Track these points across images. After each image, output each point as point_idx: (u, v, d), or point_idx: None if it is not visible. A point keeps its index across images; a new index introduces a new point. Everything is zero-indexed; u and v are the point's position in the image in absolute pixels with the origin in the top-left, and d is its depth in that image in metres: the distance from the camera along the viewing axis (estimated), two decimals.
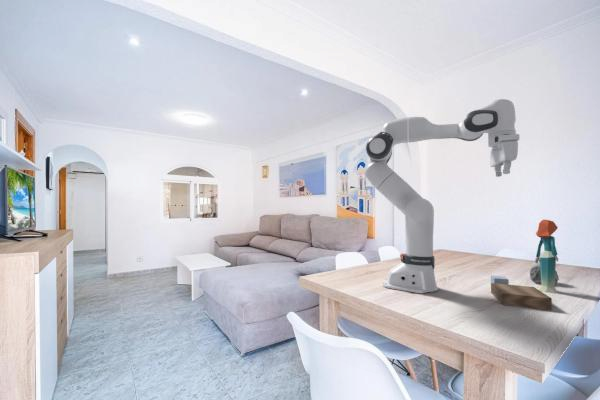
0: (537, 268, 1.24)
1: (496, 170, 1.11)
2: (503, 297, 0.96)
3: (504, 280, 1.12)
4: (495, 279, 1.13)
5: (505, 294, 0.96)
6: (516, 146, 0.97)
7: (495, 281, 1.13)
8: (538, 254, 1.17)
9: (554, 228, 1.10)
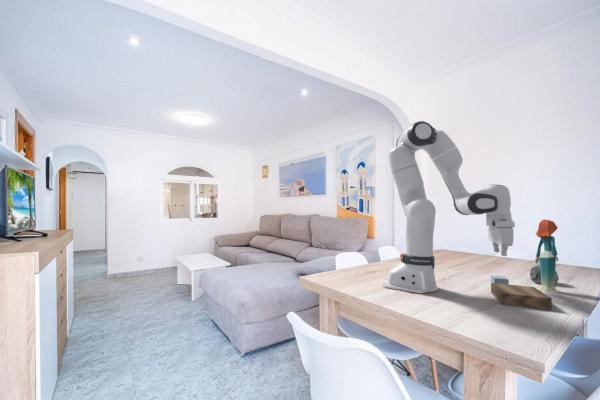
0: (537, 268, 1.24)
1: (494, 246, 1.20)
2: (503, 297, 0.96)
3: (504, 280, 1.12)
4: (495, 279, 1.13)
5: (505, 294, 0.96)
6: (512, 234, 1.06)
7: (495, 281, 1.13)
8: (538, 254, 1.17)
9: (554, 228, 1.10)
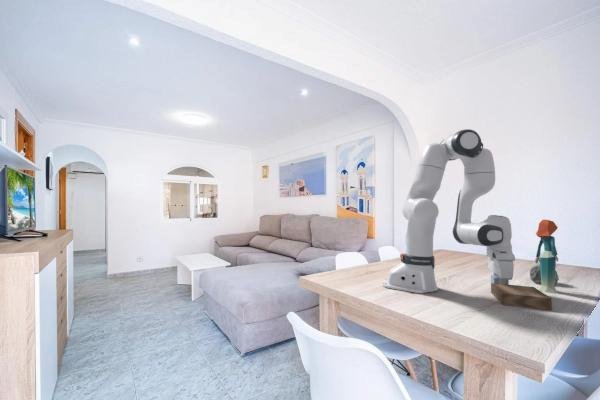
0: (537, 268, 1.24)
1: None
2: (503, 297, 0.96)
3: None
4: (495, 279, 1.13)
5: (505, 294, 0.96)
6: (512, 268, 1.05)
7: (495, 281, 1.13)
8: (538, 254, 1.17)
9: (554, 228, 1.10)
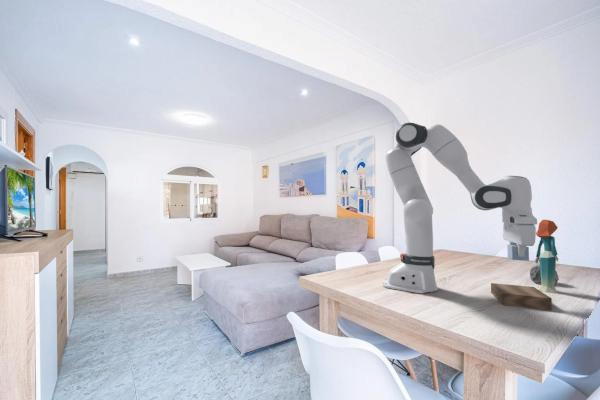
0: (537, 268, 1.24)
1: None
2: (503, 297, 0.96)
3: None
4: (513, 247, 0.99)
5: (505, 294, 0.96)
6: (534, 232, 0.91)
7: (513, 250, 0.99)
8: (538, 254, 1.17)
9: (554, 228, 1.10)
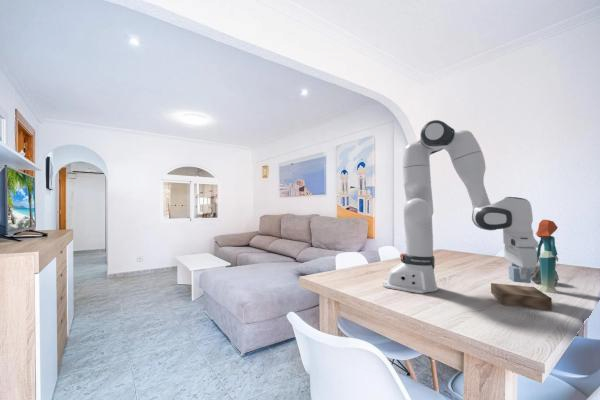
0: (537, 268, 1.24)
1: None
2: (503, 297, 0.96)
3: None
4: (515, 269, 0.99)
5: (505, 294, 0.96)
6: (535, 256, 0.91)
7: (515, 272, 0.99)
8: (538, 254, 1.17)
9: (554, 228, 1.10)
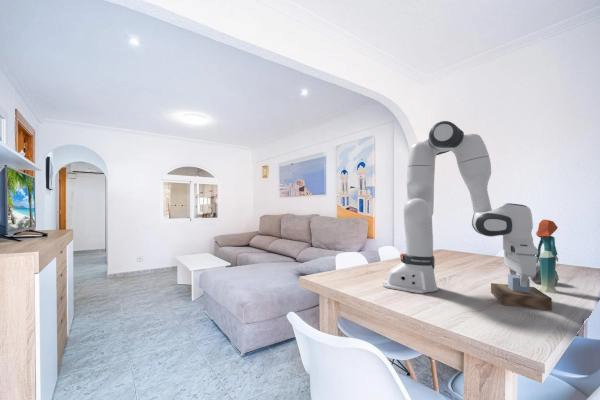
0: (537, 268, 1.24)
1: (511, 272, 1.05)
2: (503, 297, 0.96)
3: None
4: (514, 279, 0.99)
5: (505, 294, 0.96)
6: (535, 263, 0.91)
7: (514, 281, 0.99)
8: (538, 254, 1.17)
9: (554, 228, 1.10)
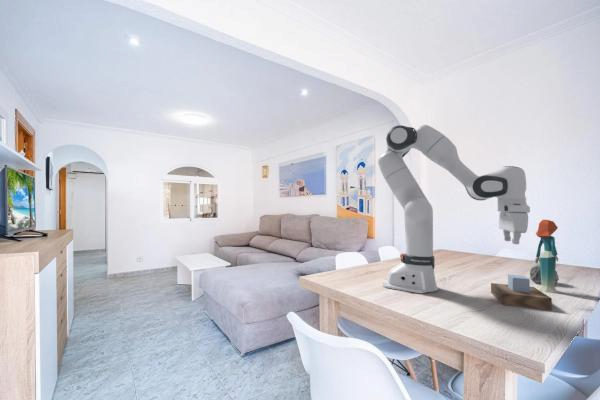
0: (537, 268, 1.24)
1: (505, 234, 1.10)
2: (503, 297, 0.96)
3: (524, 280, 0.98)
4: (514, 279, 0.99)
5: (505, 294, 0.96)
6: (526, 220, 0.95)
7: (514, 281, 0.99)
8: (538, 254, 1.17)
9: (554, 228, 1.10)
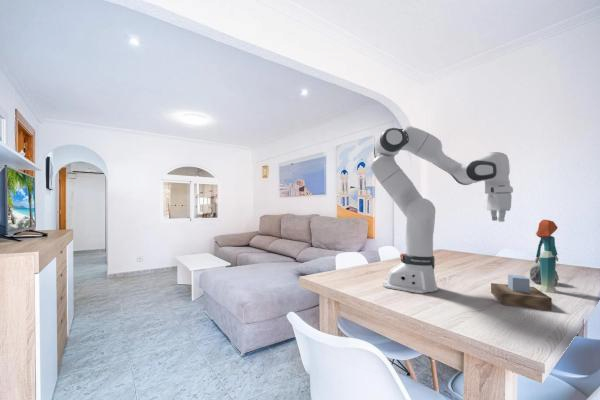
0: (537, 268, 1.24)
1: (492, 214, 1.22)
2: (503, 297, 0.96)
3: (524, 280, 0.98)
4: (514, 279, 0.99)
5: (505, 294, 0.96)
6: (510, 199, 1.07)
7: (514, 281, 0.99)
8: (538, 254, 1.17)
9: (554, 228, 1.10)
